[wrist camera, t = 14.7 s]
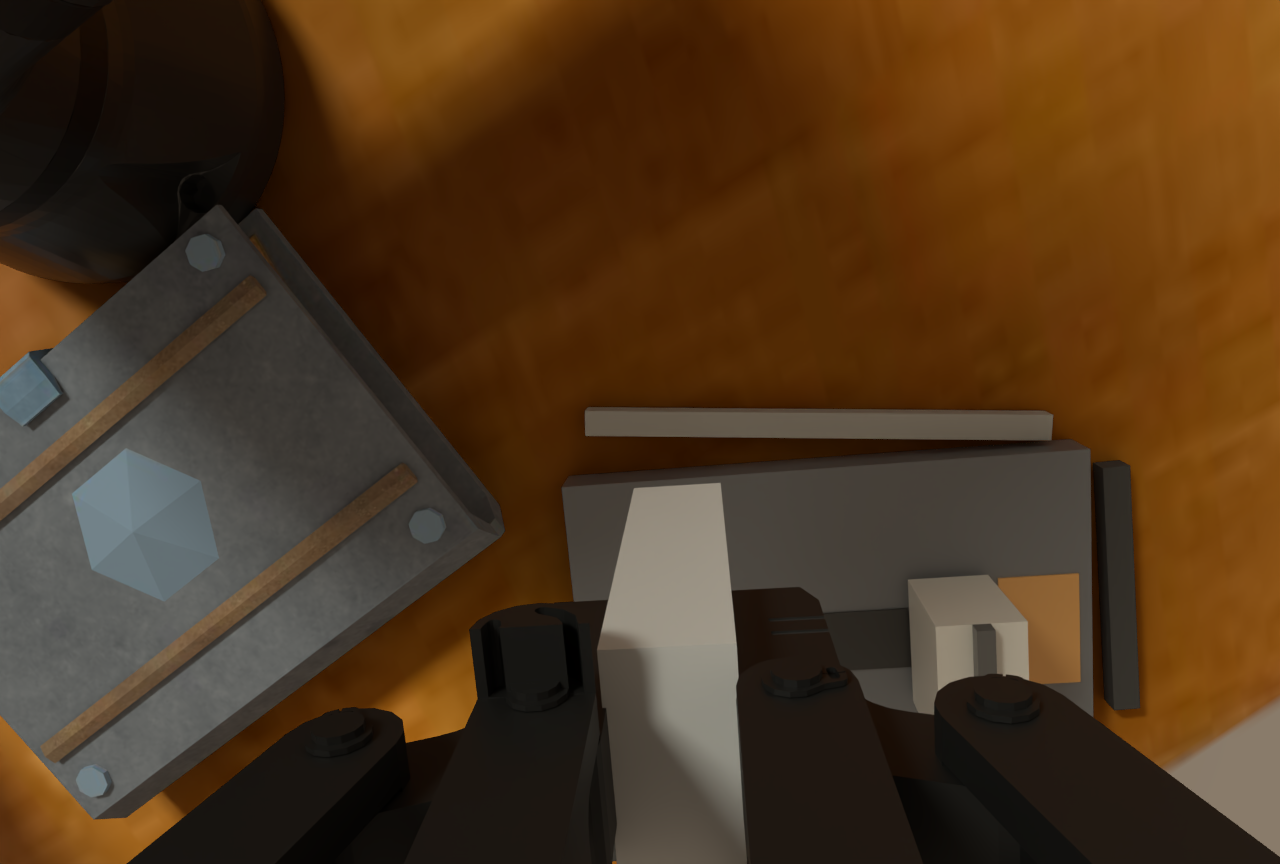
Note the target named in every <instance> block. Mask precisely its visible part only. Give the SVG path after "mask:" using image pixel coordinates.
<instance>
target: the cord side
mask: <svg viewBox="0 0 1280 864" xmlns="http://www.w3.org/2000/svg"><path fill="white" fill-rule="evenodd" d="M1093 471H1094V492H1095V513H1096V534H1097V555H1098V576H1099V596H1100V617H1101V638H1102V659H1103V680H1104V699H1105V700H1106V701H1107V703H1108V704H1109V705H1110V706H1111V707H1112V708H1113V709H1114V710H1124V709H1136V708H1140V695H1139V671H1138V647H1137V622H1136V598H1135V574H1134V549H1133V525H1132V501H1131V476H1130V465H1128V464H1126V463H1124V462H1122V461H1120V460H1116V461H1106V462H1096V463H1093Z"/></svg>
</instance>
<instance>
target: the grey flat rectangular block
mask: <svg viewBox="0 0 1280 864" xmlns="http://www.w3.org/2000/svg"><path fill="white" fill-rule="evenodd" d="M709 483H721V492H722V502H723V512H724V522H725V532H726V542H727V552H728V563H729V573H730V583H731V590H749V589H768V588H787V587H801V588H802V589H804V590H805V591H807V592H808V593H809V594H811V595H812V596H814V597H815V598H817V599H818V600H819V602H820V605H821V608H822V611H823V614H824V619H825V620H826V623H827V626H828V631H829V632H830V635H831V638H832V641H833V644H834V648H835V651H836V654H837V657H838V660H839V663H840V665H841V666H843V667H845V668H847V669H849V670H851V671H852V673H853V674H854V675H855V676H856V678H857V679H858V680H859V683H860V686H861V689H862V691H863V694H864V697H865V699H866V700H868V701H870V702H872V703H875V704H878V705H881V706H885V707H888V708H892V709H897V710H903V711H908V712H916V713H918V711H917V709H916V706H915V704H914V702H913V686H912V663H911V641H910V619H909V597H908V580H909V579H925V578H941V577H958V576H974V575H989V576H990V578H991V579H992V580H993V581H994V582H995V584H996V585H997V586H998V587H999V588H1000V589H1001V591H1002V592H1003V593H1004V594H1005V595H1006V596H1007V598H1008V599H1009V600H1010V601H1011V602H1012V604H1013V605H1014V606H1015V607H1016V608H1017V609H1018V611H1019V612H1020V613H1021V614H1022V615H1023V616H1024V618H1025V619H1026V620H1027V621H1028V656H1029V681H1033V682H1036V683H1040V684H1043V685H1046V686H1047V687H1049V688H1051V689H1053V690H1055V691H1057V692H1059V693H1061V694H1062V695H1064V696H1065V697H1067V698H1068V699H1069V700H1071V701H1072V702H1073V703H1075V704H1076V705H1077V706H1079V707H1080V708H1081V709H1083V710H1084V711H1085V712H1087V713H1088V714H1089V715H1091V716H1092V717H1093V643H1092V553H1091V462H1090V449H1089V448H1087V447H1085V446H1083V445H1081V444H1080V443H1078V442H1076V441H1074V440H1072V439H1065V440H1052V441H1038V442H1024V443H1011V444H997V445H983V446H970V447H956V448H942V449H929V450H915V451H901V452H888V453H874V454H860V455H847V456H833V457H819V458H806V459H792V460H779V461H765V462H751V463H738V464H724V465H710V466H697V467H683V468H669V469H656V470H642V471H628V472H615V473H601V474H587V475H574V476H568V478H567V480H566V481H565V483H564V484H563V486H562V487H561V488H562V497H563V506H564V516H565V525H566V534H567V543H568V553H569V562H570V571H571V580H572V590H573V599H574V602H577V601H595V600H609V595H610V591H611V586H612V582H613V578H614V573H615V569H616V565H617V560H618V556H619V551H620V547H621V543H622V538H623V534H624V529H625V525H626V521H627V516H628V512H629V508H630V503H631V499H632V494H633V490H634V488H644V487H661V486H677V485H693V484H709Z"/></svg>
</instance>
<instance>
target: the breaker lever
mask: <svg viewBox="0 0 1280 864" xmlns="http://www.w3.org/2000/svg"><path fill="white" fill-rule="evenodd" d="M908 597H909V619H910V641H911V663H912V686H913V702H914V704H915V706H916V709H917V711H918V713H924V714H932V715H934V702H935V698H936V694H937V691H939V690H940V689H941V688H943V687H944V686H946V685H947V684H948V683H950V682H953V681H957V680H960V679H963V678H967V677H974V676H985V675H986V674H1003V676H1006V674H1007V675H1014V676H1019V677H1022V678H1023V679H1026V680H1029V656H1028V621H1027V620H1026V619H1025V618H1024V616H1023V615H1022V614H1021V613H1020V612H1019V611H1018V609H1017V608H1016V607H1015V606H1014V605H1013V604H1012V602H1011V601H1010V600H1009V599H1008V598H1007V596H1006V595H1005V594H1004V593H1003V592H1002V591H1001V589H1000V588H999V587H998V586H997V585H996V584H995V582H994V581H993V580H992V579H991V578H990V576H989V575H974V576H958V577H941V578H925V579H909V580H908Z"/></svg>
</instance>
